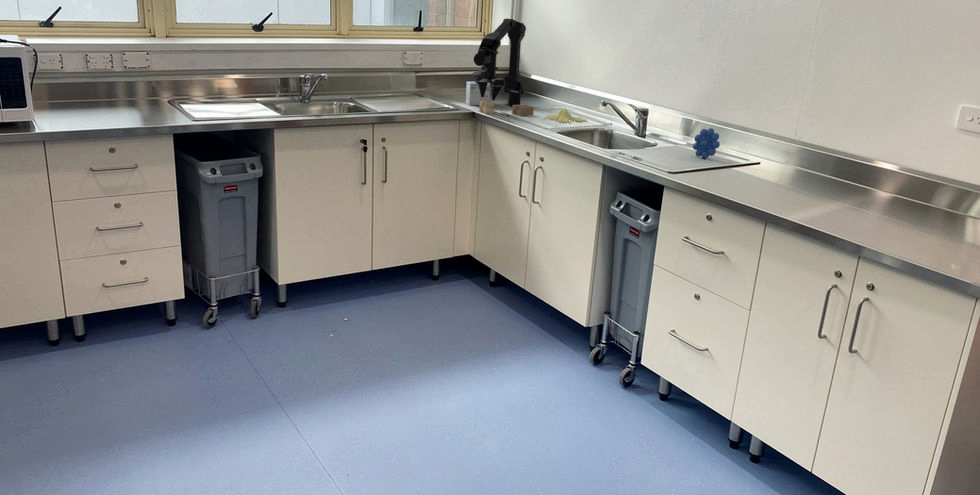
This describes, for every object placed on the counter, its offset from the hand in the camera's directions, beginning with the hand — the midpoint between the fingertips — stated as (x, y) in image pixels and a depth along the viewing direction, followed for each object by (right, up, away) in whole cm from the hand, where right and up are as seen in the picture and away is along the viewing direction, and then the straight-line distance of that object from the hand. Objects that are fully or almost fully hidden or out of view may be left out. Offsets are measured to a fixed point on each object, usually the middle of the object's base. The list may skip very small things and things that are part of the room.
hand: (487, 98), depth 379 cm
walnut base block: (+16, -7, +2) cm, 18 cm away
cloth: (+34, -11, -3) cm, 36 cm away
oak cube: (0, -6, +2) cm, 7 cm away
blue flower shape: (+84, -35, -65) cm, 112 cm away
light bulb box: (-5, +1, +23) cm, 23 cm away
